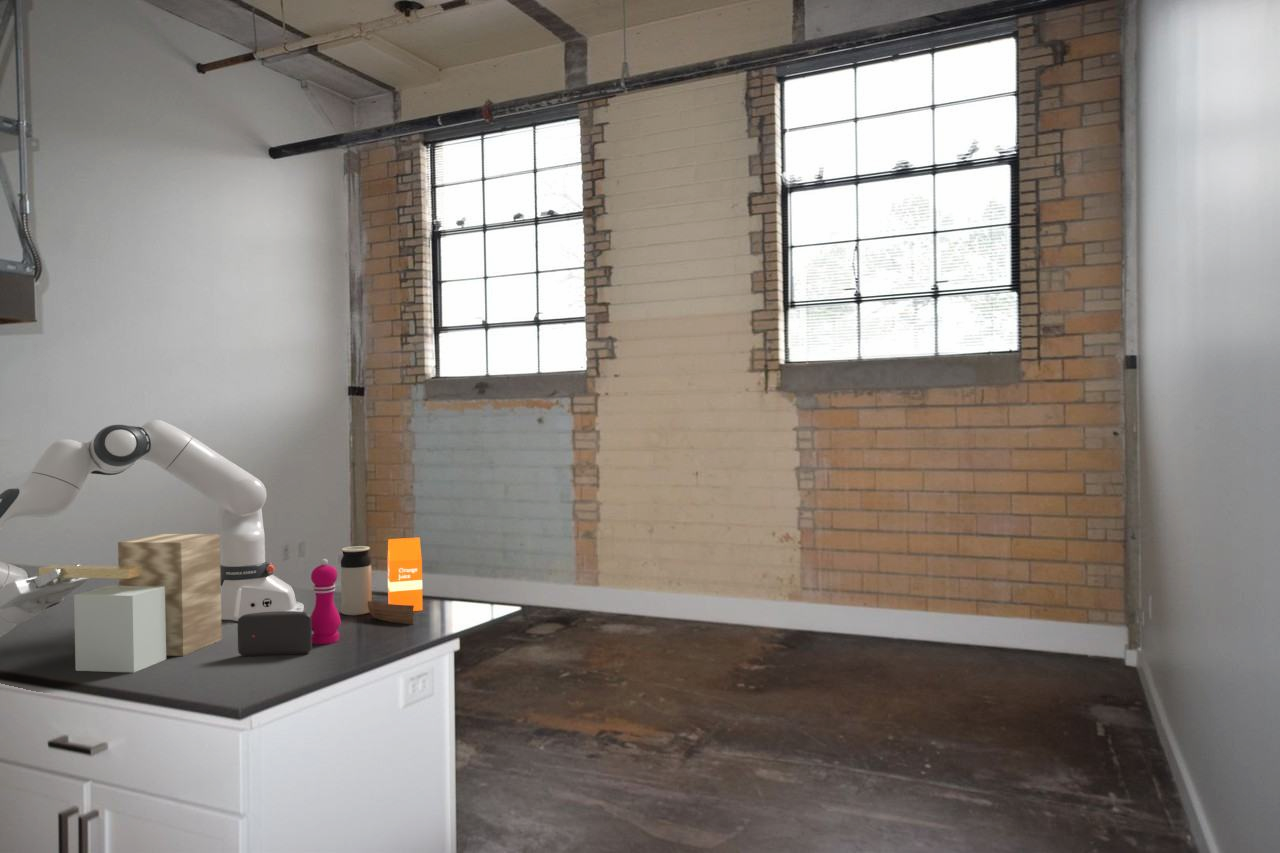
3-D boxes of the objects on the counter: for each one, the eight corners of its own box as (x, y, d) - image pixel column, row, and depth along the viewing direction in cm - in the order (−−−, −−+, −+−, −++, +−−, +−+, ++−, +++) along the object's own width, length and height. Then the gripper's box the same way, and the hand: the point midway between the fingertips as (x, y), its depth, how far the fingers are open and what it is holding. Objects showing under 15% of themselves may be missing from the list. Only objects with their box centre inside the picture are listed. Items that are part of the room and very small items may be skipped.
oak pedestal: (120, 654, 198) (118, 542, 197) (162, 638, 212) (160, 533, 211) (183, 655, 195) (181, 542, 195) (221, 640, 209) (219, 534, 209)
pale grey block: (75, 670, 185) (74, 594, 185) (110, 657, 195) (109, 585, 195) (134, 672, 183) (132, 595, 183) (166, 659, 193) (164, 586, 193)
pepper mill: (307, 646, 202) (306, 562, 202) (311, 638, 209) (309, 557, 209) (340, 643, 204) (338, 560, 204) (342, 636, 211) (340, 555, 211)
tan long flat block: (39, 577, 189) (38, 568, 189) (53, 573, 193) (53, 564, 193) (128, 578, 186) (128, 569, 186) (141, 575, 190) (141, 566, 190)
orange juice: (388, 607, 243) (386, 537, 243) (419, 604, 246) (418, 535, 246) (390, 613, 236) (389, 541, 236) (423, 610, 239) (421, 539, 239)
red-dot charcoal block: (316, 649, 200) (315, 609, 200) (310, 654, 195) (310, 613, 195) (244, 652, 198) (243, 611, 198) (236, 657, 194) (236, 616, 194)
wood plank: (417, 623, 224) (416, 604, 224) (411, 625, 222) (411, 606, 222) (372, 618, 231) (372, 599, 231) (367, 619, 229) (366, 601, 229)
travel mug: (372, 614, 235) (371, 549, 235) (342, 617, 232) (341, 551, 232) (370, 608, 242) (369, 545, 242) (341, 611, 239) (339, 547, 239)
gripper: (-27, 596, 182) (22, 564, 180) (53, 578, 202) (97, 550, 201) (-13, 622, 182) (36, 591, 180) (65, 601, 202) (110, 573, 200)
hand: (69, 569), depth 190 cm, fingers closed on tan long flat block, 4 cm apart
